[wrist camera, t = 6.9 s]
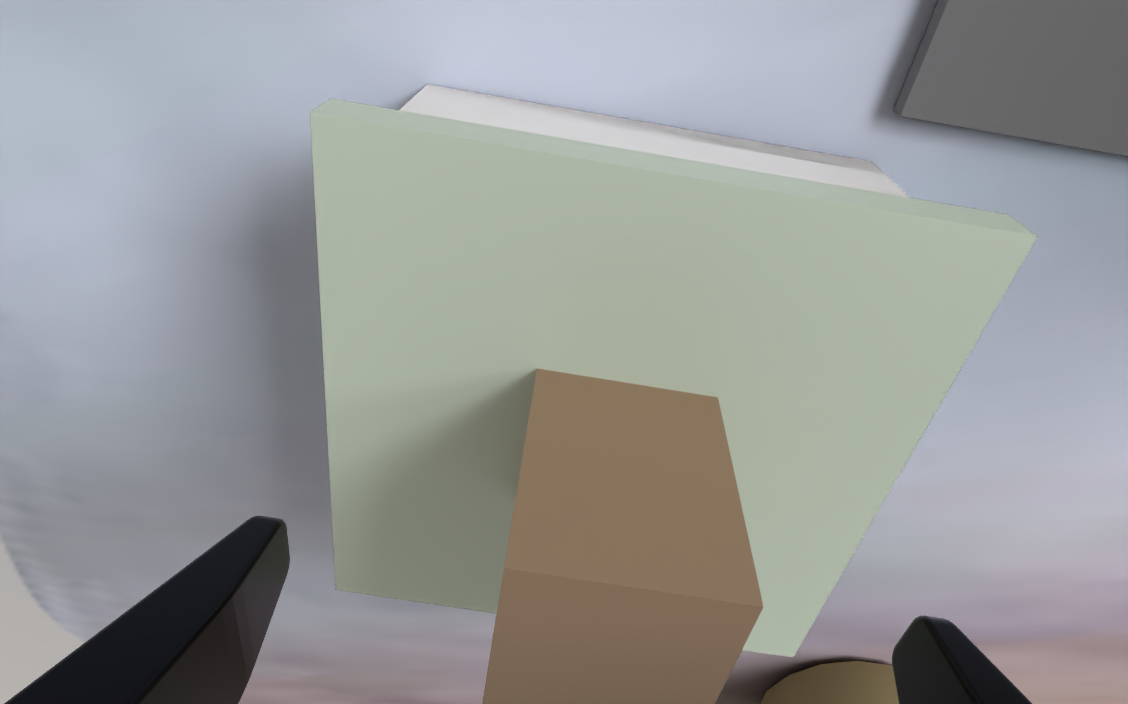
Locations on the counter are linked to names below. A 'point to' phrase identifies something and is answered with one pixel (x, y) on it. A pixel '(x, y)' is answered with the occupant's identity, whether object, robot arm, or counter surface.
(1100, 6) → the mat
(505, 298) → the lid
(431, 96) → the white box
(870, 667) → the squeeze bottle
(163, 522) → the counter surface
